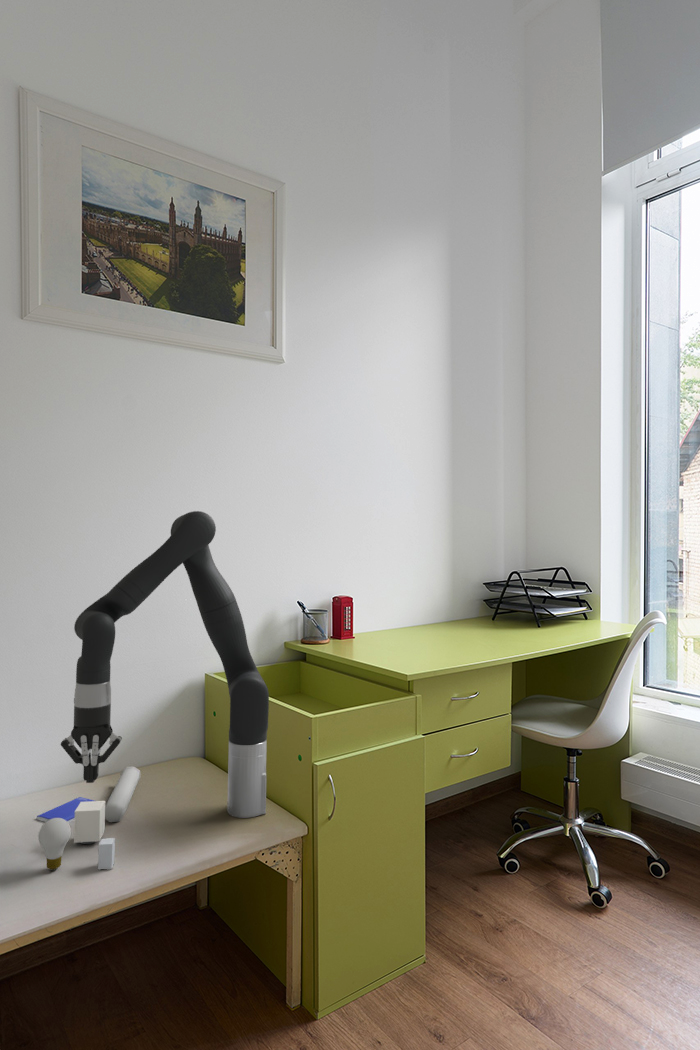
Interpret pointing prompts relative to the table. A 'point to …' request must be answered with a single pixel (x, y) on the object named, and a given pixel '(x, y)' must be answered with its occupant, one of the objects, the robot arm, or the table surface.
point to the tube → (122, 794)
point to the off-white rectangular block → (89, 821)
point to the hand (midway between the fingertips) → (90, 781)
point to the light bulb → (54, 840)
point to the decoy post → (106, 853)
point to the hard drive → (63, 811)
